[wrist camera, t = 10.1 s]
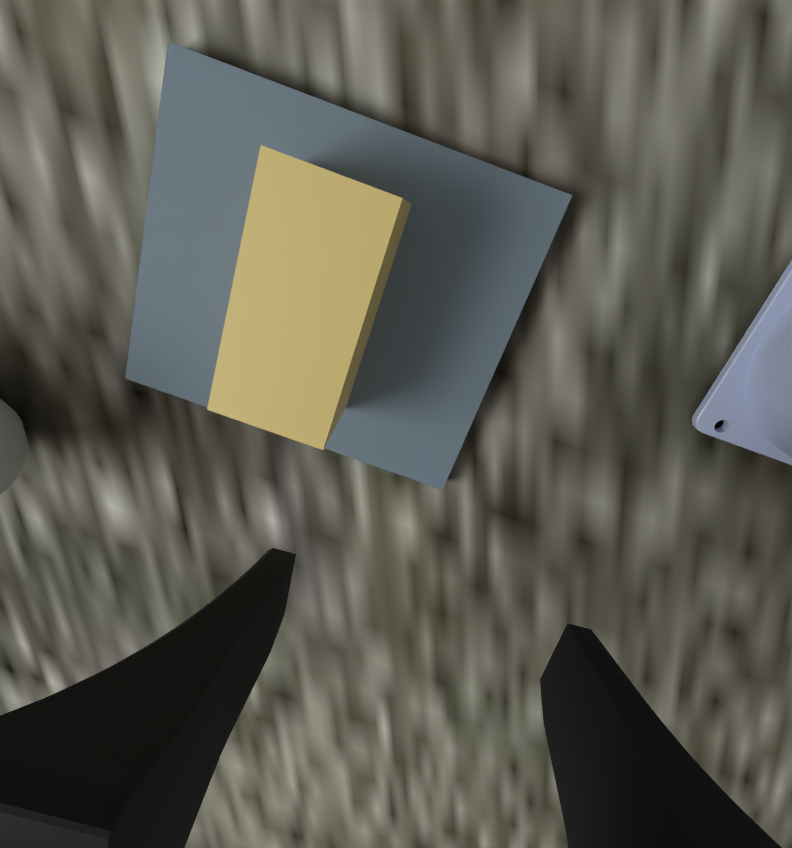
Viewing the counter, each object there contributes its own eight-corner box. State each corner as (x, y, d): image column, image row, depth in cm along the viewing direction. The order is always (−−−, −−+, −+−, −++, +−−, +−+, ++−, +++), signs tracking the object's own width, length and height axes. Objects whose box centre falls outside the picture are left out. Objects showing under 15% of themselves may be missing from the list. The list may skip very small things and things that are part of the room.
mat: (566, 196, 17) (572, 195, 16) (442, 480, 22) (442, 489, 21) (180, 49, 17) (168, 41, 16) (136, 373, 21) (125, 378, 20)
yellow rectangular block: (345, 408, 20) (323, 450, 16) (251, 375, 20) (207, 409, 16) (412, 204, 17) (402, 197, 13) (301, 162, 17) (260, 145, 13)
